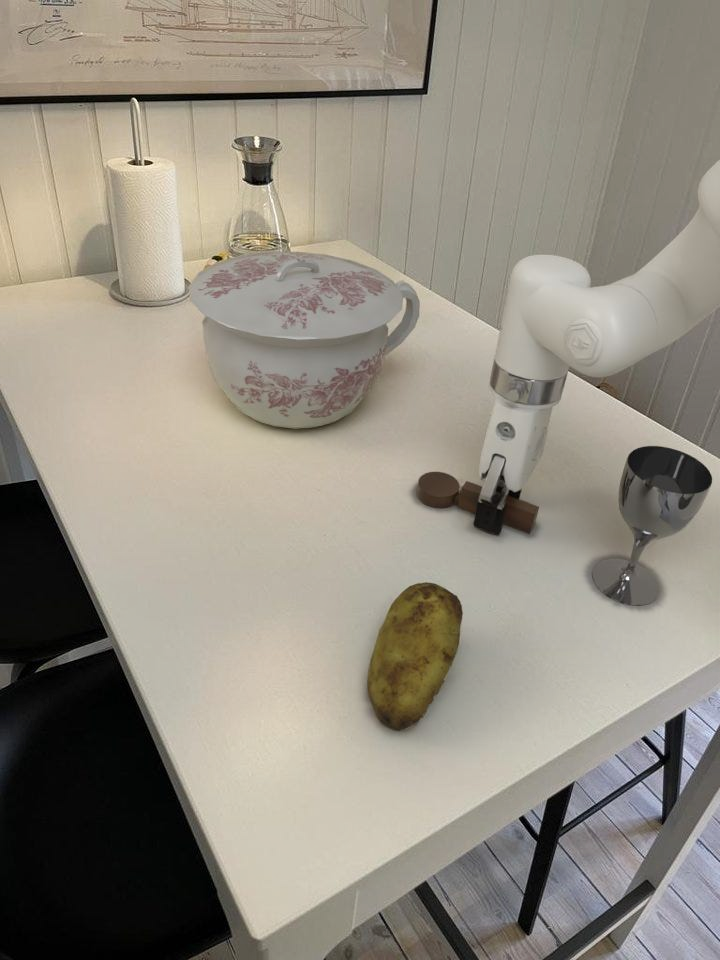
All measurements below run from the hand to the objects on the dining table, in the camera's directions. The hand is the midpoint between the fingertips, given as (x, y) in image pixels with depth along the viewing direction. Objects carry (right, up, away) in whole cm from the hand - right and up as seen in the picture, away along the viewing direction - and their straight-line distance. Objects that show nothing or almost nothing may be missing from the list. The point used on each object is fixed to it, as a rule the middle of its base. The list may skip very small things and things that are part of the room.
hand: (496, 513), depth 88 cm
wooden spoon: (-3, +1, +1) cm, 3 cm away
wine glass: (+13, -7, -7) cm, 16 cm away
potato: (-12, -14, -20) cm, 27 cm away
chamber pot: (-25, +15, +18) cm, 34 cm away
